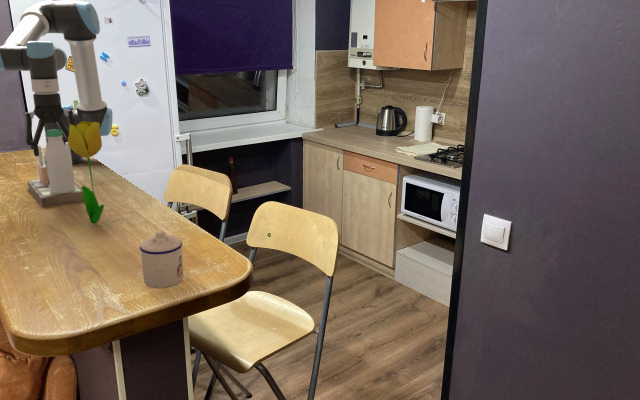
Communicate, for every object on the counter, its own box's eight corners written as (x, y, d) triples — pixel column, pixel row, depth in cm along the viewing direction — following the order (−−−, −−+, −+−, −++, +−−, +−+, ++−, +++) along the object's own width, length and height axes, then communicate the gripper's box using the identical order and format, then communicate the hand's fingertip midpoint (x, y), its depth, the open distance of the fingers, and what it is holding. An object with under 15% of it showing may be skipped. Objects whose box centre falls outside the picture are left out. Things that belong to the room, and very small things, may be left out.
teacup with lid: (187, 285, 119) (184, 236, 115) (145, 292, 115) (140, 241, 112) (178, 264, 129) (175, 218, 126) (139, 270, 126) (134, 223, 122)
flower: (117, 222, 156) (107, 120, 147) (99, 231, 149) (87, 124, 140) (92, 219, 159) (80, 118, 150) (73, 228, 151) (59, 122, 142)
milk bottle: (80, 188, 177) (72, 129, 170) (63, 195, 170) (54, 133, 163) (61, 186, 179) (53, 127, 172) (44, 193, 172) (34, 131, 165)
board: (28, 189, 187) (27, 180, 186) (68, 183, 194) (67, 175, 193) (42, 207, 168) (41, 197, 167) (85, 200, 176) (84, 191, 175)
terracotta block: (40, 180, 185) (37, 164, 184) (58, 178, 189) (56, 162, 187) (43, 184, 181) (41, 167, 179) (62, 182, 184) (60, 165, 182)
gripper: (10, 95, 157) (22, 170, 164) (84, 92, 169) (92, 162, 176) (6, 93, 163) (18, 165, 170) (78, 90, 175) (86, 158, 182)
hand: (55, 163), depth 173 cm, fingers open, 8 cm apart
